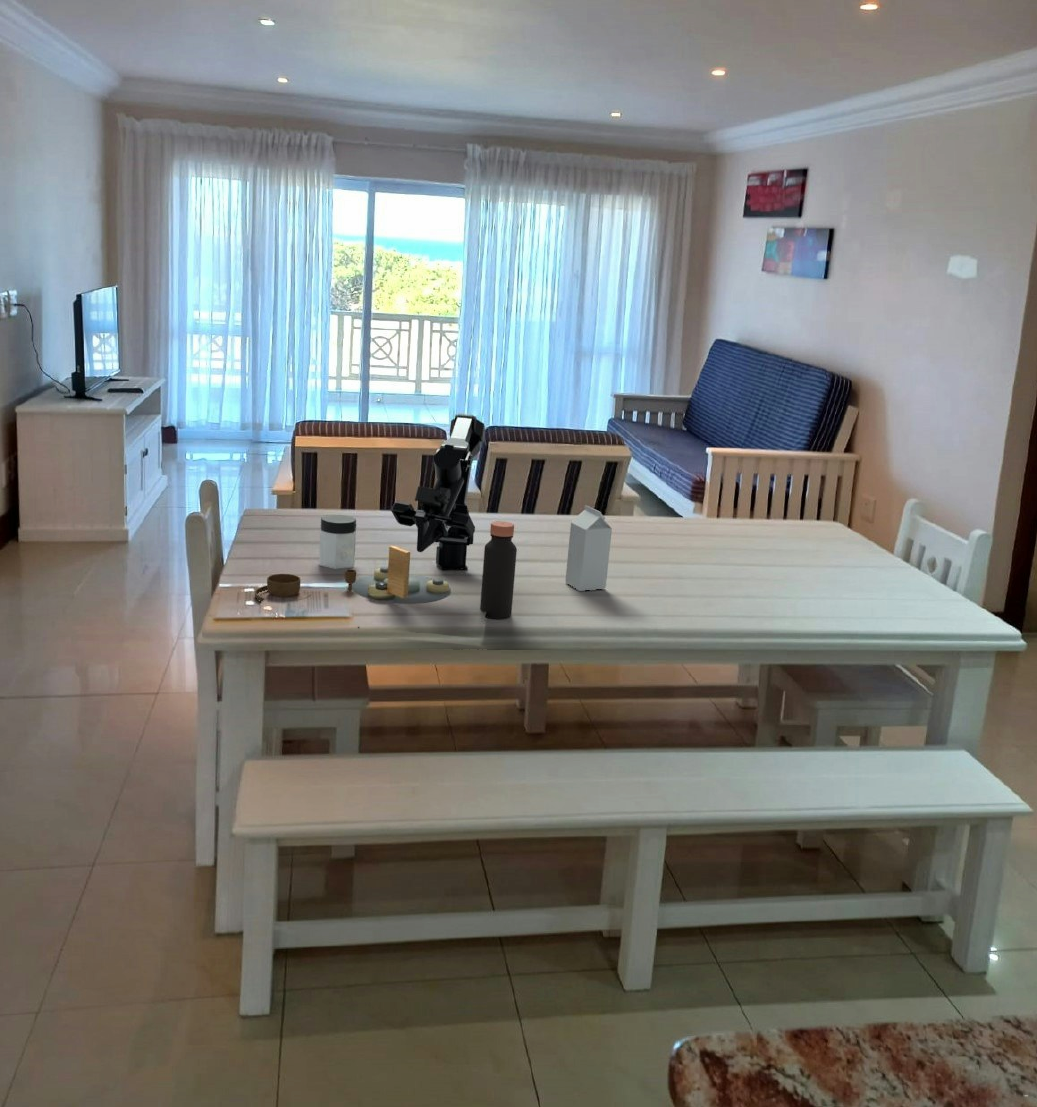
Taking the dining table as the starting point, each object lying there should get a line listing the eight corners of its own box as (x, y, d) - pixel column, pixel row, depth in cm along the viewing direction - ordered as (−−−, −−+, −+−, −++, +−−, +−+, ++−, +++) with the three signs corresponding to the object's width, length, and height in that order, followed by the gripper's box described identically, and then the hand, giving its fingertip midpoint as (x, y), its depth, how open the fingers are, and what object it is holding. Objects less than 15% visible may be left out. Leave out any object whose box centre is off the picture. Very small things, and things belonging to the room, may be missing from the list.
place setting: (269, 585, 241) (270, 559, 239) (358, 594, 239) (359, 569, 238) (242, 609, 224) (242, 581, 222) (337, 619, 222) (338, 592, 221)
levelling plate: (436, 577, 255) (437, 563, 254) (462, 607, 235) (463, 592, 234) (343, 579, 248) (343, 565, 247) (361, 610, 228) (361, 594, 227)
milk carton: (579, 592, 253) (587, 512, 248) (564, 583, 259) (572, 505, 254) (605, 590, 256) (614, 511, 251) (590, 581, 262) (598, 504, 257)
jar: (326, 574, 250) (328, 524, 247) (312, 565, 256) (313, 515, 253) (361, 571, 255) (363, 521, 252) (347, 562, 261) (349, 513, 258)
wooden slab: (361, 593, 234) (364, 541, 231) (383, 589, 238) (386, 538, 235) (393, 607, 226) (396, 554, 223) (416, 603, 231) (419, 550, 227)
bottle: (489, 621, 228) (497, 528, 222) (473, 611, 233) (480, 520, 228) (517, 617, 231) (524, 526, 226) (500, 608, 237) (508, 519, 231)
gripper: (397, 465, 240) (369, 523, 233) (473, 478, 234) (446, 538, 227) (412, 494, 249) (386, 551, 243) (485, 507, 243) (461, 566, 236)
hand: (418, 551), depth 237 cm, fingers closed
